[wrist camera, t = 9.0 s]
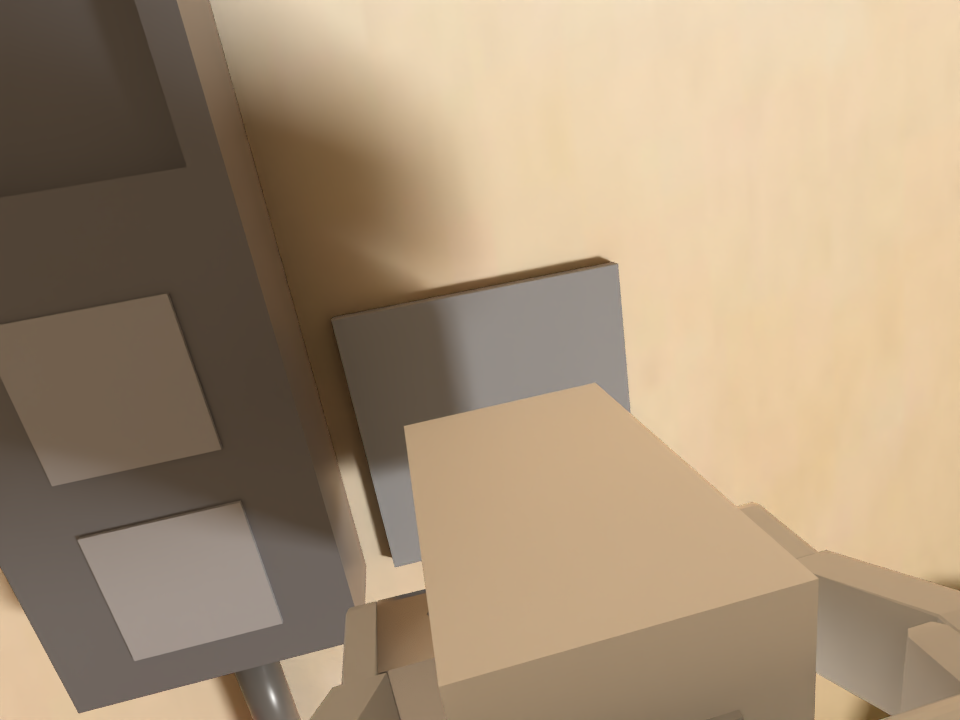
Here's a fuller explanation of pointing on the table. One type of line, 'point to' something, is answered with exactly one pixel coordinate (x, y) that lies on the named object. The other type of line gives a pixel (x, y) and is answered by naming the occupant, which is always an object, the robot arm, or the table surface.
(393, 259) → the table surface
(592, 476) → the block
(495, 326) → the mat
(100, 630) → the power strip
